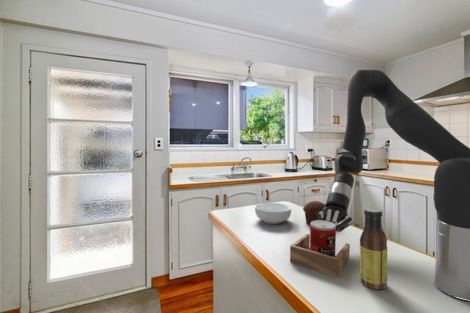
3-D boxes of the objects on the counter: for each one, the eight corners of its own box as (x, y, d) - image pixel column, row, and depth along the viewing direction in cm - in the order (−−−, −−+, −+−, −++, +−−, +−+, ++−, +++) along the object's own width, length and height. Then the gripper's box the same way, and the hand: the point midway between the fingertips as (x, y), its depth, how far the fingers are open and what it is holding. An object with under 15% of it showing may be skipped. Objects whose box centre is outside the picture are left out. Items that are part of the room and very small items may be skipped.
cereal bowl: (294, 227, 105) (294, 211, 104) (256, 227, 105) (256, 211, 105) (287, 216, 122) (287, 202, 121) (254, 215, 122) (254, 202, 121)
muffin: (318, 218, 117) (318, 198, 116) (335, 226, 107) (335, 203, 106) (297, 221, 113) (297, 200, 112) (313, 229, 102) (313, 206, 102)
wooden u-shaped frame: (306, 247, 85) (306, 233, 85) (349, 259, 76) (349, 244, 76) (290, 261, 75) (290, 245, 75) (336, 277, 66) (337, 259, 66)
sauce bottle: (377, 277, 66) (379, 206, 65) (392, 291, 60) (395, 212, 59) (353, 277, 66) (355, 206, 65) (367, 291, 60) (369, 213, 59)
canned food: (320, 265, 73) (320, 229, 72) (304, 253, 80) (305, 221, 80) (340, 261, 75) (341, 226, 74) (324, 250, 83) (324, 219, 82)
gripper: (318, 189, 91) (305, 230, 83) (357, 194, 83) (346, 240, 74) (323, 200, 96) (311, 240, 87) (360, 205, 87) (350, 250, 79)
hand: (327, 240), depth 81 cm, fingers closed
